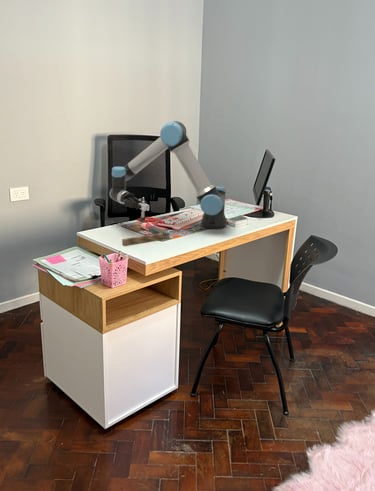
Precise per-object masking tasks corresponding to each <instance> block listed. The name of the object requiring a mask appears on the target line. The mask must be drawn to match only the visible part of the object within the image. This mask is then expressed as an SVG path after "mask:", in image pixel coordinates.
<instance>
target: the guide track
mask: <svg viewBox="0 0 375 491" xmlns="http://www.w3.org/2000/svg"><path fill="white" fill-rule="evenodd" d="M147 231H149V232H148V233H150V232H151V233H152V234H151V233H150V234H147V235H141V236H133V237H127V238H122V239H121V242H122V243H121V244H122V246H124V247H125V246H133V245H137V244H138V245H139V244H145V243H149V242H151V243H152V242H156V241H161V240H162V241H164V240H169V239H170V232H168V231H166V230H164V229H162V228H160V227H158V226H156V225H150V226H147ZM163 239H164V240H163Z"/></svg>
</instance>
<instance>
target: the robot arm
mask: <svg viewBox="0 0 375 491" xmlns="http://www.w3.org/2000/svg"><path fill="white" fill-rule="evenodd" d="M159 133H160V134H159V135H160V136H159V137H158V138H157V139H156V140H154V141H153V142H152V143H151V144H149V145H148V147H146V148H145V149H144V150H143V151H142V152H139V154H138V155H136V156H134V158H132V159H131V161H129V162H128V163H127V164H126V165H124V166H113V167H112V168H111V189H110V191H109V197H110V198H111V199H112V200H113V201H114V202H117V203H119V204H120V205H121V206H124V207H127V208H132V209H134V208H135V210H139V209H140V210H141V211H142V210H143V211H144V212H146V211H147V212H148V211H150V204H148V202H147V201H146V200H145V199H144V201H145V202H144V205H143V204H142V201H143V197H141V198H137V197H136V195H135V194H134V193H131V192H129V191H127V190H126V189H127V188H126V186H127V183H126V182H127V181H129V180H131V179H133V177H135V176H136V175H137V174H138V173H139V172H140V171H142V170H143V169H144V168H145V167H147V166H148V165H149V164H150V163H152V162H153V161H154V160H156V159H157V158H158V157H159V156H160V155H161V154H163V153H164V152H165V151H166V150H168V149H169V152H170V153H173V154H174V155H175V156H176V158H177V160H178V162H179V163H180V165H181V167H182V168H183V170H184V172H185V174H186V176H187V177H188V179H189V181H190V182H191V184H192V186H193V187H194V189H195V191H196V199H197V200H198V202H199V204H200V209H201V211H202V212H203V214H202V217H201V219H200V226H201V227H202V228H206V229H212V230H219V229H225V228H226V227H227V224H228V222H227V218H226V214H225V207H226V206H225V204H226V193H227V191H226V188H225V186H218V185H217V186H216V185H214V184H212V183H211V182H210V181H209V178H208V176H207V174H205V171H204V170H203V168H202V166H201V165H200V163H199V161H198V158H196V155H195V154H194V152H193V150H192V148H191V147H190V139H189V137H188V135H187V127H186V126H185V125H184V124H183V123H182V122H181V121H177V120H176V121H175V120H174V121H169V122H166V123H165V124H163V126H162V127H161V129H160V132H159Z"/></svg>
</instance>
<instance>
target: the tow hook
mask: <svg viewBox="0 0 375 491" xmlns="http://www.w3.org/2000/svg"><path fill="white" fill-rule="evenodd" d="M142 198H143V201H142V204H143V205H144V202H145V201H146V200H145V197H144V196H143V197H142ZM144 200H145V201H144ZM156 220H157V218H155V217H152V216H145V211H143V210H141V216H140V217H139V218H137V219H136V221H137V222H140V223H145V224H148V223H153V222H156Z"/></svg>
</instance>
